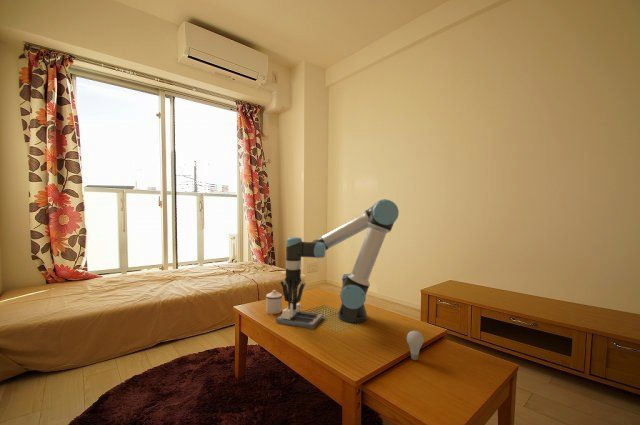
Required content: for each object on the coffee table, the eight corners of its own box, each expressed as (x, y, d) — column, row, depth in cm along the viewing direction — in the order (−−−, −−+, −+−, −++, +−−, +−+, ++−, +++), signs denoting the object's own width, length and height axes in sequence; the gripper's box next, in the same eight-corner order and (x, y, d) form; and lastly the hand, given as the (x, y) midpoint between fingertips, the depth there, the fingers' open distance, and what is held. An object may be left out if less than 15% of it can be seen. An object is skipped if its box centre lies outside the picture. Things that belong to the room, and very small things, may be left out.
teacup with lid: (285, 311, 155) (285, 290, 155) (271, 315, 148) (272, 293, 148) (272, 306, 163) (272, 286, 163) (259, 309, 156) (259, 289, 156)
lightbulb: (409, 354, 110) (410, 326, 110) (425, 359, 106) (426, 331, 106) (403, 360, 106) (404, 331, 106) (419, 366, 102) (420, 336, 102)
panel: (323, 318, 146) (323, 312, 146) (312, 329, 132) (313, 323, 132) (289, 312, 153) (289, 307, 153) (275, 322, 139) (275, 316, 139)
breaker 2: (296, 314, 145) (296, 306, 145) (293, 316, 142) (293, 307, 142) (289, 313, 146) (289, 305, 146) (286, 314, 144) (286, 306, 144)
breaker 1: (292, 317, 140) (292, 309, 140) (289, 319, 137) (289, 311, 137) (285, 316, 142) (285, 308, 142) (282, 318, 139) (282, 309, 139)
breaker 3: (300, 311, 150) (300, 303, 150) (297, 312, 147) (297, 304, 147) (293, 310, 151) (293, 302, 151) (290, 311, 148) (291, 303, 148)
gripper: (308, 268, 140) (307, 315, 140) (285, 266, 144) (284, 311, 144) (302, 271, 133) (301, 320, 133) (278, 268, 137) (276, 316, 137)
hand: (292, 315), depth 139 cm, fingers closed
